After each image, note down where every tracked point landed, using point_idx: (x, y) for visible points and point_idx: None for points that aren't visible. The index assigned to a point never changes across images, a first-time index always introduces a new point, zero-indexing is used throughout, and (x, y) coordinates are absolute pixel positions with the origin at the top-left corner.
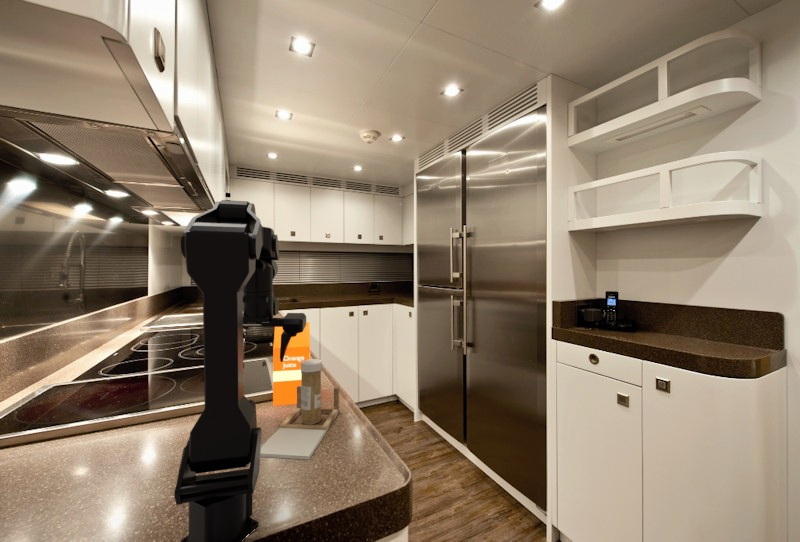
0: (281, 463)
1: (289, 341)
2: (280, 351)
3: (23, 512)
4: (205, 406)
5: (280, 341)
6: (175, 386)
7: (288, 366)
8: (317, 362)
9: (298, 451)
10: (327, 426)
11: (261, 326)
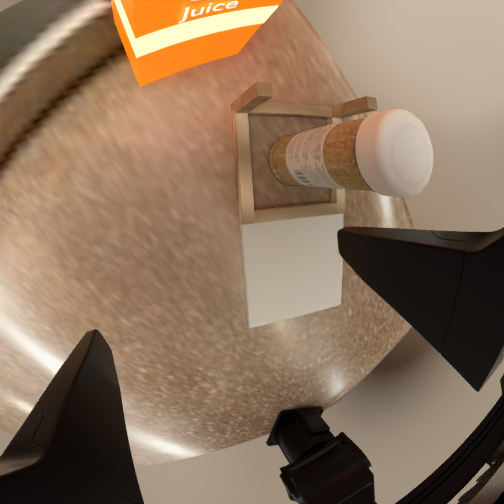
0: (301, 325)
1: (452, 234)
2: (394, 308)
3: None
4: None
5: None
6: None
7: (202, 9)
8: (430, 169)
9: (320, 298)
10: (344, 201)
11: (415, 491)
